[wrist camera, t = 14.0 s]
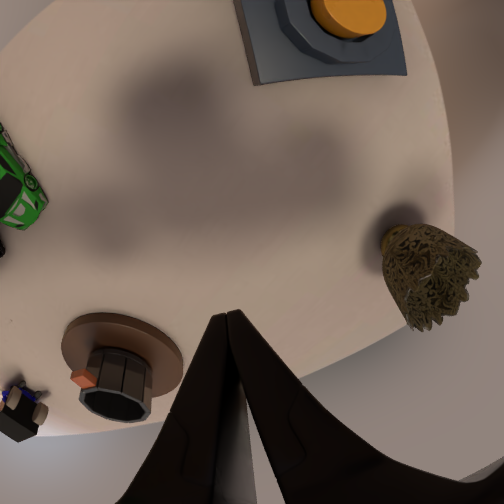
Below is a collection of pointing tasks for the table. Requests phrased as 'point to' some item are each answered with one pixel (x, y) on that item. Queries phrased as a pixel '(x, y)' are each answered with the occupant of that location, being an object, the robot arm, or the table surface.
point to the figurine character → (21, 413)
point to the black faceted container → (115, 386)
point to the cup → (427, 272)
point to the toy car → (17, 189)
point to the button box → (313, 44)
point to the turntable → (124, 346)
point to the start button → (349, 16)
